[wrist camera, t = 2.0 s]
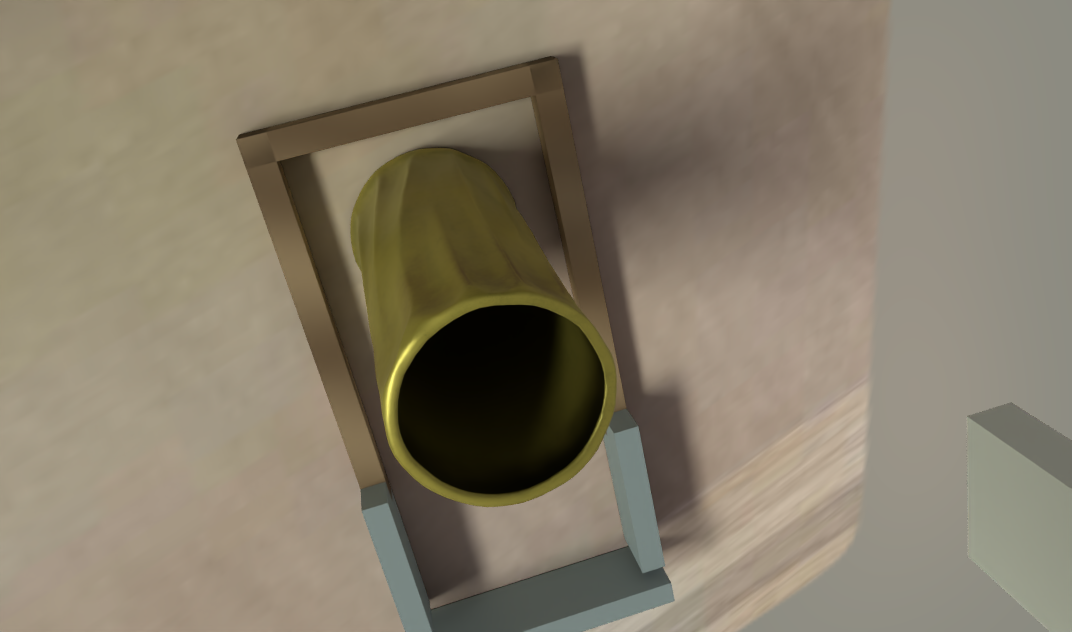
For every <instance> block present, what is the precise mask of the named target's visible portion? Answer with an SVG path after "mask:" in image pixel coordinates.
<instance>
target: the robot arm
mask: <svg viewBox="0 0 1072 632" xmlns="http://www.w3.org/2000/svg"><path fill="white" fill-rule="evenodd" d="M967 487H968V488H967V497H968V498H967V501H968V557H969V558H970V559H971V560H972V561H973V562H975V563H976V564H977V565H978V566H979V567H980V568H981V569H982V570H983V571H984V572H985V573H986V574H988V575H989V576H990V577H991V578H992V579H993V580H994V581H995V582H996V583H997V584H998V585H999V586H1001V587H1002V588H1003V589H1004V590H1005V591H1006V592H1007V593H1008V594H1009V595H1010V596H1011V597H1013V598H1014V599H1015V600H1016V601H1017V602H1018V603H1019V604H1020V605H1021V606H1022V607H1023V608H1025V609H1026V610H1027V611H1028V612H1029V613H1030V614H1031V615H1032V616H1033V617H1034V618H1036V619H1037V620H1038V621H1039V622H1040V623H1041V624H1042V625H1043V626H1044V627H1045V628H1046V629H1048V630H1049V631H1050V632H1072V440H1070V439H1069V438H1067V437H1065V436H1064V435H1062V434H1061V433H1059V432H1057V431H1056V430H1054V429H1053V428H1051V427H1049V426H1048V425H1046V424H1045V423H1043V422H1041V421H1040V420H1038V419H1037V418H1035V417H1034V416H1032V415H1030V414H1029V413H1027V412H1026V411H1024V410H1022V409H1021V408H1019V407H1018V406H1016V405H1015V404H1013V403H1008V404H1004V405H1002V406H998V407H995V408H992V409H989V410H986V411H982V412H979V413H976V414H973V415H969V416H967Z"/></svg>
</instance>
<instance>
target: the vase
mask: <svg viewBox="0 0 1072 632" xmlns="http://www.w3.org/2000/svg"><path fill="white" fill-rule="evenodd" d="M351 244H352V249H353V254H354V257H355V260H356V263H357V265H358V267H359V269H360V270H361V272H362V278H363V286H364V293H365V299H366V306H367V313H368V320H369V327H370V333H371V339H372V344H373V349H374V362H375V373H376V380H377V385H378V390H379V395H380V401H381V410H382V416H383V421H384V426H385V431H386V436H387V440H388V444H389V447H390V449H391V451H392V453H393V455H394V457H395V458H396V459H397V461H398V462H399V463H400V465H401V466H402V467H403V468H404V469H405V470H406V471H407V472H408V473H409V474H410V475H411V476H412V477H413V478H414V479H415V480H416V481H418V482H419V483H420V484H421V485H423V486H424V487H426V488H427V489H429V490H431V491H433V492H435V493H437V494H439V495H441V496H443V497H446V498H448V499H451V500H454V501H458V502H461V503H465V504H469V505H474V506H482V507H498V506H507V505H514V504H519V503H523V502H526V501H529V500H532V499H534V498H537V497H539V496H542V495H543V494H545V493H547V492H549V491H551V490H553V489H555V488H557V487H559V486H561V485H562V484H564V483H565V482H567V481H568V480H570V479H571V478H573V477H574V476H575V475H576V474H577V473H578V472H579V471H580V470H581V469H582V468H583V467H584V466H585V465H586V464H587V463H588V462H589V461H590V459H591V458H592V457H593V455H594V454H595V452H596V451H597V450H598V448H599V446H600V444H601V442H602V440H603V437H604V435H605V433H606V431H607V429H608V427H609V424H610V422H611V419H612V417H613V414H614V409H615V405H616V393H617V375H616V367H615V363H614V359H613V356H612V354H611V352H610V350H609V348H608V347H607V345H606V343H605V342H604V340H603V339H602V337H601V335H600V334H599V332H598V331H597V329H596V328H595V326H594V325H593V324H592V323H591V322H590V320H589V319H588V318H587V317H586V316H585V314H584V313H583V312H582V311H581V309H580V308H579V307H578V306H577V304H576V303H575V301H574V300H573V298H572V297H571V296H570V294H569V293H568V291H567V290H566V288H565V287H564V285H563V283H562V282H561V280H560V279H559V277H558V276H557V274H556V272H555V271H554V269H553V268H552V266H551V265H550V263H549V262H548V260H547V258H546V256H545V255H544V253H543V251H542V249H541V248H540V246H539V244H538V243H537V241H536V239H535V237H534V235H533V233H532V231H531V230H530V229H529V227H528V226H527V224H526V222H525V220H524V219H523V217H522V216H521V214H520V213H519V212H518V210H517V209H516V206H515V201H514V199H513V197H512V195H511V193H510V191H509V189H508V188H507V186H506V185H505V184H504V182H503V181H502V179H501V178H500V177H499V176H498V175H497V173H496V172H495V171H494V170H493V169H491V168H490V167H489V166H488V165H487V164H485V163H483V162H482V161H480V160H478V159H476V158H473V157H471V156H469V155H466V154H464V153H462V152H459V151H456V150H453V149H449V148H425V149H417V150H414V151H410V152H407V153H405V154H402V155H400V156H398V157H396V158H394V159H392V160H391V161H389V162H387V163H386V164H384V165H383V166H381V167H380V168H379V169H378V170H377V171H375V172H374V174H373V175H372V176H371V177H370V178H369V180H368V181H367V182H366V184H365V185H364V187H363V189H362V190H361V192H360V194H359V197H358V199H357V201H356V204H355V206H354V209H353V212H352V216H351Z"/></svg>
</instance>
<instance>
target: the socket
mask: <svg viewBox="0 0 1072 632" xmlns="http://www.w3.org/2000/svg"><path fill="white" fill-rule="evenodd" d="M606 432H607V435H606V433H605V435H604V437H603V438H604V443H605V448H606V452H607V457H608V462H609V467H610V471H611V476H612V481H613V485H614V490H615V495H616V499H617V504H618V509H619V514H620V518H621V523H622V528H623V532H624V537H625V540H626V542H627V544H628V547H625V548H622V549H619V550H616V551H613V552H610V553H607V554H603V555H600V556H597V557H594V558H591V559H588V560H585V561H582V562H579V563H576V564H572V565H569V566H566V567H563V568H560V569H557V570H554V571H551V572H548V573H545V574H541V575H538V576H535V577H532V578H529V579H526V580H523V581H520V582H517V583H514V584H510V585H507V586H504V587H501V588H498V589H495V590H492V591H489V592H486V593H483V594H479V595H476V596H473V597H470V598H467V599H464V600H461V601H458V602H455V603H452V604H448V605H445V606H442V607H439V608H436V609H433V610H431V609H430V602H429V598H428V596H427V593H426V590H425V587H424V584H423V581H422V578H421V575H420V572H419V569H418V566H417V563H416V560H415V557H414V554H413V551H412V548H411V545H410V542H409V540H408V537H407V534H406V531H405V528H404V525H403V522H402V519H401V516H400V513H399V510H398V507H397V504H396V501H395V498H394V495H393V492H392V499H391V496H390V493H389V490H388V487H387V484H386V482H383V483H380V484H377V485H373V486H370V487H367V488H363V489H361V506H362V513H363V516H364V519H365V521H366V524H367V527H368V530H369V533H370V535H371V538H372V541H373V544H374V546H375V549H376V552H377V555H378V557H379V560H380V563H381V566H382V569H383V571H384V574H385V577H386V580H387V582H388V585H389V588H390V591H391V594H392V596H393V599H394V602H395V605H396V607H397V610H398V613H399V616H400V618H401V621H402V624H403V627H404V630H405V632H583V631H586V630H589V629H592V628H595V627H598V626H601V625H604V624H607V623H610V622H613V621H616V620H619V619H622V618H625V617H628V616H631V615H634V614H637V613H640V612H643V611H646V610H649V609H652V608H655V607H658V606H661V605H664V604H667V603H670V602H673V601H674V595H673V590H672V585H671V582H670V580H669V578H668V576H667V575H666V573H665V571H664V569H663V567H664V566H665V563H664V557H663V552H662V547H661V542H660V537H659V531H658V526H657V521H656V516H655V511H654V505H653V500H652V495H651V490H650V485H649V479H648V474H647V469H646V464H645V459H644V453H643V448H642V443H641V438H640V433H639V427H638V425H637V424H636V422H635V421H634V419H633V418H632V416H631V415H630V413H629V412H628V410H627V409H624V410H620V411H617V412H614V414H613V417H612V419H611V422H610V424H609V427H608V429H607V431H606ZM391 491H392V489H391ZM392 500H393V502H392Z"/></svg>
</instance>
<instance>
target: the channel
mask: <svg viewBox="0 0 1072 632" xmlns="http://www.w3.org/2000/svg"><path fill="white" fill-rule="evenodd" d="M530 96H531V100H532V104H533V109H534V114H535V119H536V123H537V128H538V133H539V137H540V142H541V147H542V151H543V156H544V161H545V166H546V170H547V175H548V180H549V184H550V189H551V194H552V199H553V203H554V208H555V213H556V217H557V222H558V227H559V231H560V236H561V241H562V246H563V250H564V255H565V260H566V264H567V269H568V274H569V278H570V283H571V288H572V293H573V297H574V301H575V303H576V304H577V306H578V307H579V308H580V309H581V311H582V312H583V313H584V314H585V316H586V317H587V318H588V319H589V320H590V322H591V323H592V324H593V325H594V326H595V328H596V329H597V331H598V332H599V334H600V335H601V337H602V339H603V340H604V342H605V343H606V345H607V347H608V348H609V350H610V352H611V354H612V356H613V359H614V363H615V367H616V375H617V393H616V405H615V409H614V412H617V411H620V410H624V409H626V404H625V399H624V393H623V388H622V383H621V378H620V373H619V368H618V363H617V358H616V353H615V348H614V343H613V338H612V332H611V327H610V322H609V317H608V312H607V307H606V302H605V297H604V292H603V287H602V282H601V277H600V271H599V266H598V261H597V256H596V251H595V246H594V241H593V236H592V231H591V226H590V221H589V216H588V210H587V205H586V200H585V195H584V190H583V185H582V180H581V175H580V170H579V165H578V160H577V155H576V149H575V144H574V139H573V134H572V129H571V124H570V119H569V114H568V109H567V104H566V99H565V94H564V88H563V83H562V78H561V73H560V68H559V63H558V59H557V58H555V57H552V56H550V57H546V58H542V59H538V60H534V61H530V62H526V63H522V64H518V65H514V66H510V67H506V68H502V69H498V70H494V71H490V72H486V73H482V74H478V75H474V76H470V77H466V78H462V79H458V80H454V81H451V82H447V83H443V84H439V85H435V86H431V87H427V88H423V89H419V90H415V91H411V92H407V93H403V94H399V95H395V96H391V97H387V98H383V99H379V100H375V101H371V102H367V103H363V104H359V105H355V106H351V107H347V108H343V109H339V110H335V111H331V112H327V113H323V114H319V115H315V116H312V117H308V118H304V119H300V120H296V121H292V122H288V123H284V124H280V125H276V126H272V127H268V128H264V129H260V130H256V131H252V132H248V133H244V134H240V135H239V136H238V137H237V139H236V141H237V144H238V147H239V150H240V152H241V155H242V158H243V161H244V164H245V166H246V169H247V172H248V175H249V178H250V180H251V183H252V186H253V189H254V192H255V194H256V197H257V200H258V203H259V206H260V208H261V211H262V214H263V217H264V220H265V222H266V225H267V228H268V231H269V234H270V237H271V239H272V242H273V245H274V248H275V251H276V253H277V256H278V259H279V262H280V265H281V267H282V270H283V273H284V276H285V279H286V281H287V284H288V287H289V290H290V293H291V295H292V298H293V301H294V304H295V307H296V309H297V312H298V315H299V318H300V321H301V323H302V326H303V329H304V332H305V335H306V337H307V340H308V343H309V346H310V349H311V351H312V354H313V357H314V360H315V363H316V365H317V368H318V371H319V374H320V377H321V379H322V382H323V385H324V388H325V391H326V393H327V396H328V399H329V402H330V405H331V407H332V410H333V413H334V416H335V419H336V421H337V424H338V427H339V430H340V433H341V435H342V438H343V441H344V444H345V447H346V449H347V452H348V455H349V458H350V461H351V464H352V466H353V469H354V472H355V475H356V478H357V480H358V483H359V486H360V489H363V488H367V487H370V486H373V485H377V484H380V483H383V482H386V484H387V487H388V490H389V493H390V496H391V499H392V491H391V486H390V484H389V481H388V478H387V475H386V472H385V469H384V466H383V463H382V460H381V457H380V454H379V451H378V448H377V445H376V442H375V439H374V436H373V433H372V431H371V428H370V425H369V422H368V419H367V416H366V413H365V410H364V407H363V404H362V401H361V398H360V395H359V392H358V389H357V386H356V383H355V380H354V377H353V375H352V372H351V369H350V366H349V363H348V360H347V357H346V354H345V351H344V348H343V345H342V342H341V339H340V336H339V333H338V330H337V327H336V324H335V321H334V319H333V316H332V313H331V310H330V307H329V304H328V301H327V298H326V295H325V292H324V289H323V286H322V283H321V280H320V277H319V274H318V271H317V268H316V265H315V263H314V260H313V257H312V254H311V251H310V248H309V245H308V242H307V239H306V236H305V233H304V230H303V227H302V224H301V221H300V218H299V215H298V212H297V209H296V207H295V204H294V201H293V198H292V195H291V192H290V189H289V186H288V183H287V180H286V177H285V174H284V171H283V168H282V165H281V162H280V161H281V160H285V159H289V158H293V157H296V156H300V155H304V154H308V153H312V152H316V151H320V150H324V149H328V148H331V147H335V146H339V145H343V144H347V143H351V142H355V141H359V140H363V139H367V138H370V137H374V136H378V135H382V134H386V133H390V132H394V131H398V130H402V129H406V128H409V127H413V126H417V125H421V124H425V123H429V122H433V121H437V120H441V119H445V118H448V117H452V116H456V115H460V114H464V113H468V112H472V111H476V110H480V109H483V108H487V107H491V106H495V105H499V104H503V103H507V102H511V101H515V100H519V99H522V98H526V97H530ZM606 435H607V432H606ZM392 502H393V500H392Z"/></svg>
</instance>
